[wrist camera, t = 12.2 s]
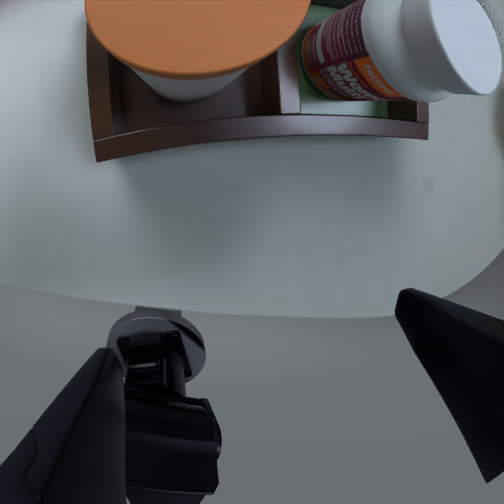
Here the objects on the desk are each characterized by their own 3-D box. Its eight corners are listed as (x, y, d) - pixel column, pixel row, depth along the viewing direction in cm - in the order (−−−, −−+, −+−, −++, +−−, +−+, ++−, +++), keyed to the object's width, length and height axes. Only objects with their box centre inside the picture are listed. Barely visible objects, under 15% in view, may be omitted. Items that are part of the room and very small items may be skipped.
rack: (393, 133, 20) (428, 140, 16) (114, 154, 16) (96, 163, 13) (384, 11, 15) (416, 0, 11) (105, 6, 12) (89, -17, 8)
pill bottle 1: (243, 99, 16) (322, 72, 7) (143, 111, 15) (83, 97, 6) (237, 13, 13) (299, -83, 4) (138, 23, 12) (94, -71, 3)
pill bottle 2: (293, 91, 16) (418, 72, 6) (302, 11, 14) (412, -57, 4) (371, 110, 18) (505, 128, 8) (378, 38, 15) (502, 17, 5)
